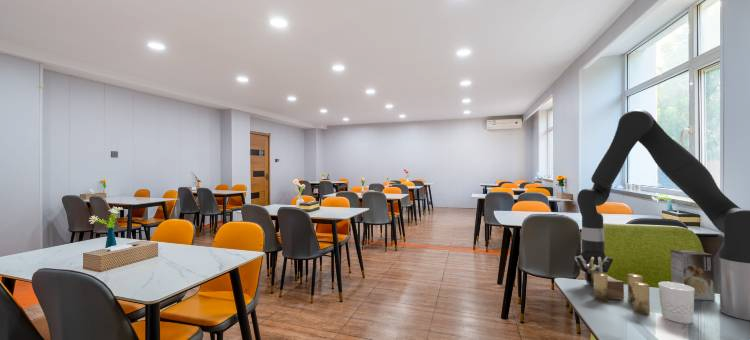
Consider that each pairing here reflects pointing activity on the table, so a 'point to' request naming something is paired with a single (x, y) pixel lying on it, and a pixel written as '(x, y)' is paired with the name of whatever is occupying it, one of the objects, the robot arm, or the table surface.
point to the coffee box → (694, 272)
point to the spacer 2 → (632, 279)
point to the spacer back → (641, 298)
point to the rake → (611, 286)
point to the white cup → (677, 302)
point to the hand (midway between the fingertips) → (593, 282)
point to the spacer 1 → (600, 287)
